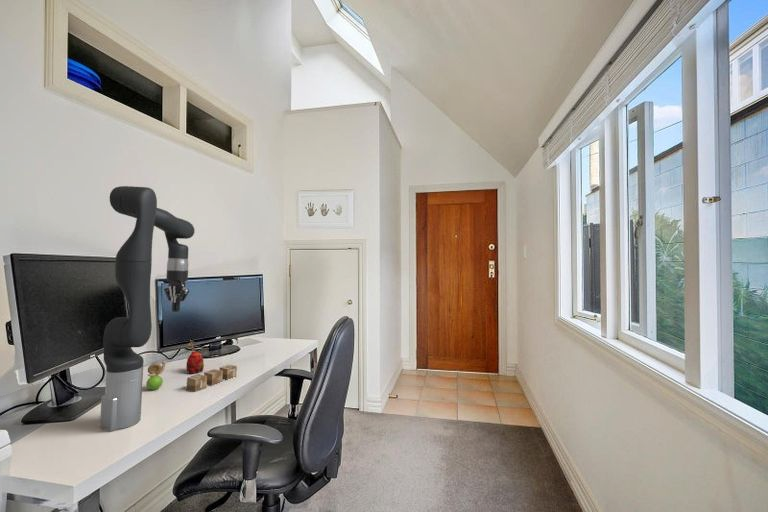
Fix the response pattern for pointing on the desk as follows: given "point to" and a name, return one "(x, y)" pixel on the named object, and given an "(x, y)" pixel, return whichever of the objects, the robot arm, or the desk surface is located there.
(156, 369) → the snail figurine
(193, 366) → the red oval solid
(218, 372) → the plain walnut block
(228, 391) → the desk surface
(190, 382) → the numeral 1 block
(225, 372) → the numeral 7 block
